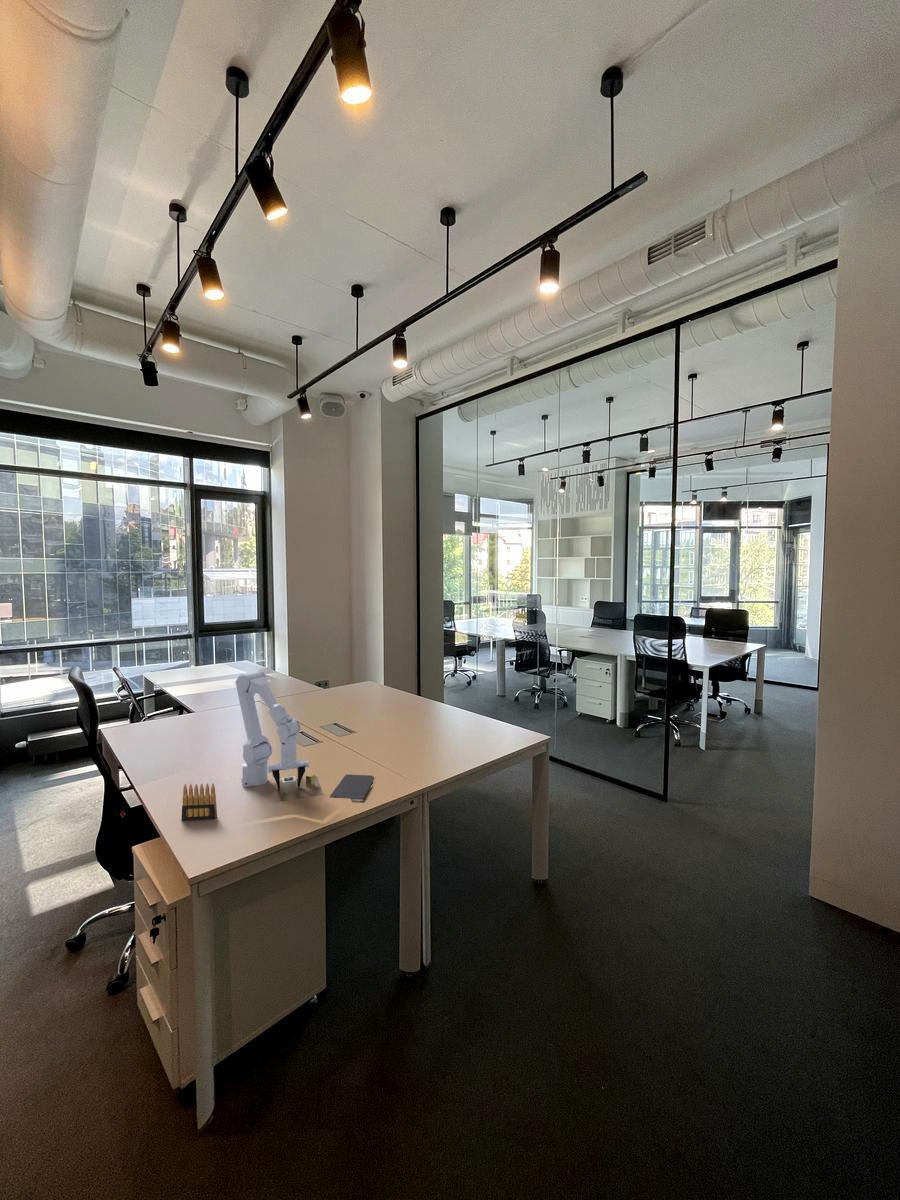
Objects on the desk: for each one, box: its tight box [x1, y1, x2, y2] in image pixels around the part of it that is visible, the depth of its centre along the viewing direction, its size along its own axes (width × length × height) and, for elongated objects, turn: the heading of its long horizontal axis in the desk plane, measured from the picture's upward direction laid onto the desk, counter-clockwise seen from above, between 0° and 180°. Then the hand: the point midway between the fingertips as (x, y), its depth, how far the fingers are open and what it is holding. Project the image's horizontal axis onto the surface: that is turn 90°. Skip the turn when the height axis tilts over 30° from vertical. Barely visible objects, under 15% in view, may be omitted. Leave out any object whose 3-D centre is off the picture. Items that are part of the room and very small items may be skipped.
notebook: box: [329, 774, 375, 802], centre depth 187 cm, size 13×2×21 cm
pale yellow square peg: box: [305, 773, 316, 788], centre depth 186 cm, size 2×2×4 cm
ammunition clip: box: [180, 783, 218, 822], centre depth 162 cm, size 11×2×12 cm, turn 97°
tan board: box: [278, 775, 324, 802], centre depth 185 cm, size 15×18×1 cm
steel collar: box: [280, 775, 297, 793], centre depth 183 cm, size 5×5×4 cm
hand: (288, 787), depth 183 cm, fingers open, 6 cm apart
